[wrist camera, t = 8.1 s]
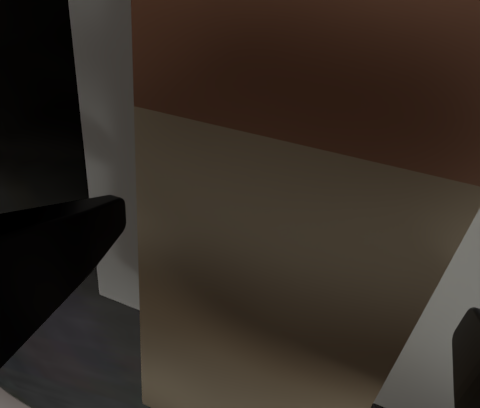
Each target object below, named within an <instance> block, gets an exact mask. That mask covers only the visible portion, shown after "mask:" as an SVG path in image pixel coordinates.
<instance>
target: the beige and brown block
mask: <svg viewBox="0 0 480 408" xmlns="http://www.w3.org/2000/svg"><path fill="white" fill-rule="evenodd" d="M131 25H132V60H133V95H134V130H135V165H136V200H137V235H138V270H139V305H140V341H141V376H142V403H143V404H145V405H147V406H149V407H152V408H371V406H372V404H373V402H374V401H375V399H376V397H377V395H378V393H379V391H380V390H381V388H382V386H383V384H384V382H385V380H386V379H387V377H388V375H389V373H390V371H391V370H392V368H393V366H394V364H395V362H396V360H397V359H398V357H399V355H400V353H401V351H402V349H403V348H404V346H405V344H406V342H407V340H408V338H409V337H410V335H411V333H412V331H413V329H414V327H415V326H416V324H417V322H418V320H419V318H420V316H421V315H422V313H423V311H424V309H425V307H426V305H427V304H428V302H429V300H430V298H431V296H432V294H433V293H434V291H435V289H436V287H437V285H438V283H439V282H440V280H441V278H442V276H443V274H444V273H445V271H446V269H447V267H448V265H449V263H450V262H451V260H452V258H453V256H454V254H455V252H456V251H457V249H458V247H459V245H460V243H461V241H462V240H463V238H464V236H465V234H466V232H467V230H468V229H469V227H470V225H471V223H472V221H473V219H474V218H475V216H476V214H477V212H478V210H479V208H480V0H131Z"/></svg>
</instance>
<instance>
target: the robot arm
mask: <svg viewBox="0 0 480 408" xmlns="http://www.w3.org/2000/svg"><path fill="white" fill-rule="evenodd" d="M125 227H126V207H125V201H124V199H123V198H120V197H117V196H114V195H105V196H99V197H94V198H88V199H82V200H76V201H71V202H65V203H59V204H54V205H48V206H42V207H37V208H31V209H25V210H20V211H14V212H8V213H2V214H0V368H1V367H2V366H3V365H4V364H5V363H6V362H7V361H8V360H9V359H10V358H11V357H12V356H13V355H14V354H15V352H16V351H17V350H18V349H19V348H20V347H21V346H22V345H23V344H24V343H25V342H26V341H27V340H28V339H29V338H30V337H31V336H32V335H33V333H34V332H35V331H36V330H37V329H38V328H39V327H40V326H41V325H42V324H43V323H44V322H45V321H46V320H47V319H48V318H49V317H50V316H51V314H52V313H53V312H54V311H55V310H56V309H57V308H58V307H59V306H60V305H61V304H62V303H63V302H64V301H65V300H66V299H67V298H68V297H69V295H70V294H71V293H72V292H73V291H74V290H75V289H76V288H77V287H78V286H79V285H80V284H81V283H82V282H83V281H84V280H85V279H86V278H87V276H88V275H89V274H90V273H91V272H92V271H93V270H94V269H95V267H96V266H97V265H98V264H99V262H100V261H101V260H102V259H103V257H104V256H105V255H106V253H107V252H108V251H109V249H110V248H111V247H112V246H113V244H114V243H115V242H116V240H117V239H118V238H119V236H120V235H121V234H122V233H123V231H124V229H125ZM452 361H453V390H454V407H455V408H480V309H479V308H476V307H472V308H470V309H468V310H467V312H466V313H465V315H464V317H463V318H462V320H461V321H460V323H459V324H458V326H457V328H456V329H455V331H454V333H453V337H452Z"/></svg>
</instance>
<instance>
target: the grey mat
mask: <svg viewBox="0 0 480 408" xmlns="http://www.w3.org/2000/svg"><path fill="white" fill-rule="evenodd" d="M68 4H69V13H70V23H71V32H72V41H73V51H74V60H75V69H76V79H77V88H78V98H79V107H80V116H81V126H82V135H83V144H84V154H85V163H86V172H87V182H88V191H89V198H94V197H99V196H105V195H114V196H117V197H120V198H123V199H124V201H125V207H126V227H125V229H124V231H123V233H122V234H121V235H120V236H119V238H118V239H117V240H116V242H115V243H114V244H113V246H112V247H111V248H110V249H109V251H108V252H107V253H106V255H105V256H104V257H103V259H102V260H101V261H100V262H99V264H98V265H97V275H98V285H99V294H100V295H102V296H105V297H107V298H110V299H112V300H115V301H118V302H120V303H123V304H125V305H128V306H130V307H133V308H135V309H138V310H140V305H139V270H138V235H137V200H136V165H135V130H134V95H133V60H132V25H131V0H68ZM472 307H476V308H479V309H480V208H479V210H478V212H477V214H476V216H475V218H474V219H473V221H472V223H471V225H470V227H469V229H468V230H467V232H466V234H465V236H464V238H463V240H462V241H461V243H460V245H459V247H458V249H457V251H456V252H455V254H454V256H453V258H452V260H451V262H450V263H449V265H448V267H447V269H446V271H445V273H444V274H443V276H442V278H441V280H440V282H439V283H438V285H437V287H436V289H435V291H434V293H433V294H432V296H431V298H430V300H429V302H428V304H427V305H426V307H425V309H424V311H423V313H422V315H421V316H420V318H419V320H418V322H417V324H416V326H415V327H414V329H413V331H412V333H411V335H410V337H409V338H408V340H407V342H406V344H405V346H404V348H403V349H402V351H401V353H400V355H399V357H398V359H397V360H396V362H395V364H394V366H393V368H392V370H391V371H390V373H389V375H388V377H387V379H386V380H385V382H384V384H383V386H382V388H381V390H380V391H379V393H378V395H377V397H376V399H375V401H374V402H373V403H375V404H377V405H380V406H382V407H385V408H455V407H454V390H453V361H452V337H453V333H454V331H455V329H456V328H457V326H458V324H459V323H460V321H461V320H462V318H463V317H464V315H465V313H466V312H467V310H468V309H470V308H472Z"/></svg>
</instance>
